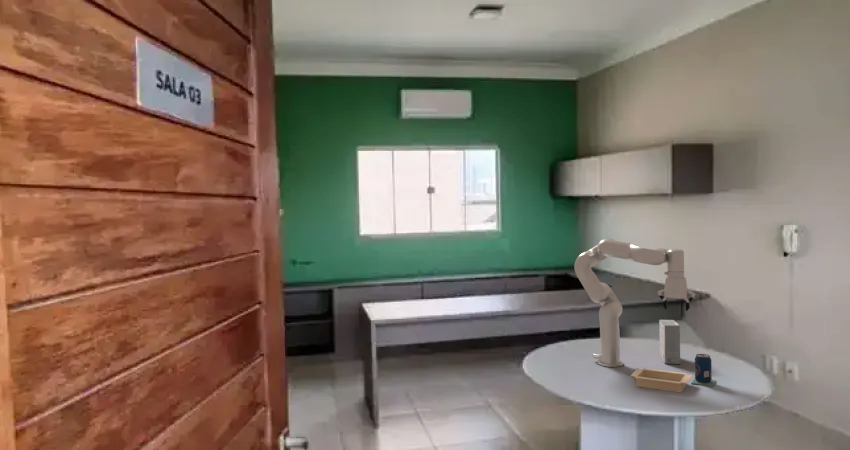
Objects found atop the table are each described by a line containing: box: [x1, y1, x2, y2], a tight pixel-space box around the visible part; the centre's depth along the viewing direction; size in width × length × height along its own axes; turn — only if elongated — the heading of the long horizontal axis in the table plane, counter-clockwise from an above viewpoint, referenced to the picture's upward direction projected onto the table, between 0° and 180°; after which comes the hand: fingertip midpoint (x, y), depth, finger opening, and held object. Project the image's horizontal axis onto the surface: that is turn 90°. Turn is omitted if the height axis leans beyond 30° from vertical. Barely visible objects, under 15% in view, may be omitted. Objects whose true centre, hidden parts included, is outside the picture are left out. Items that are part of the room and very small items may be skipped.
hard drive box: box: [659, 319, 681, 365], centre depth 314 cm, size 16×8×20 cm, turn 168°
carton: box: [630, 367, 694, 393], centre depth 275 cm, size 24×17×4 cm
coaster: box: [691, 377, 717, 388], centre depth 276 cm, size 9×9×1 cm
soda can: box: [694, 353, 713, 383], centre depth 276 cm, size 7×7×12 cm
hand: (676, 309), depth 294 cm, fingers open, 9 cm apart
